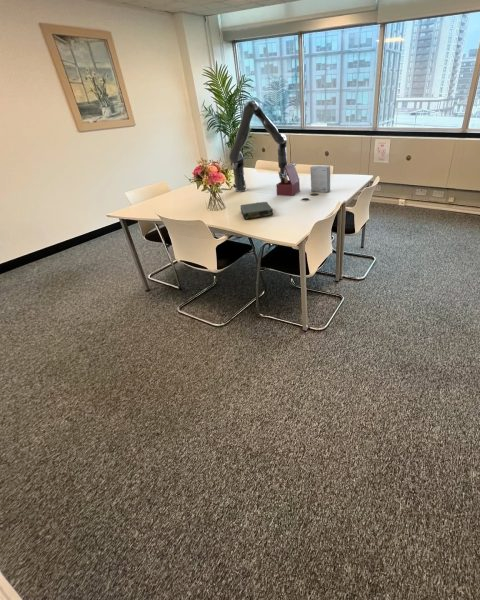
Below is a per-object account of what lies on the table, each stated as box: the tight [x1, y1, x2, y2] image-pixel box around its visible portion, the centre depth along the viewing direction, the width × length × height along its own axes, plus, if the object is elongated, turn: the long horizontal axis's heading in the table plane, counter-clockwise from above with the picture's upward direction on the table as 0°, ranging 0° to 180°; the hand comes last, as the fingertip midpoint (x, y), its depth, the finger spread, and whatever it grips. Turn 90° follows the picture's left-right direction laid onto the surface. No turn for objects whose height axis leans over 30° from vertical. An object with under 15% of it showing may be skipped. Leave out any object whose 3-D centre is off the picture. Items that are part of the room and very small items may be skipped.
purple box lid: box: [284, 161, 300, 185], centre depth 263 cm, size 15×16×6 cm
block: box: [280, 176, 289, 184], centre depth 270 cm, size 5×5×5 cm
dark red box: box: [275, 179, 301, 197], centre depth 273 cm, size 15×16×9 cm
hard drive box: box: [310, 165, 331, 193], centre depth 270 cm, size 16×8×20 cm, turn 65°
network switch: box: [240, 201, 274, 221], centre depth 233 cm, size 23×23×5 cm
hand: (284, 182), depth 272 cm, fingers closed on block, 4 cm apart
